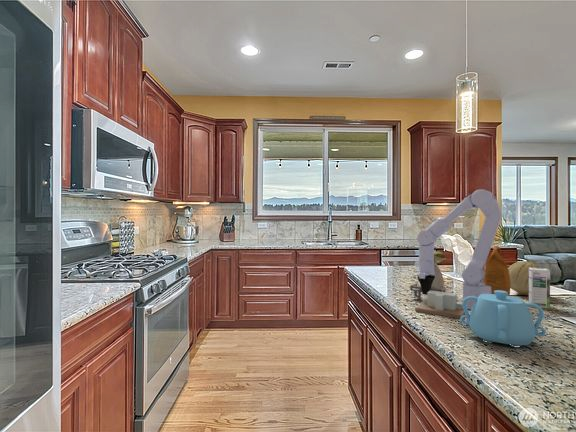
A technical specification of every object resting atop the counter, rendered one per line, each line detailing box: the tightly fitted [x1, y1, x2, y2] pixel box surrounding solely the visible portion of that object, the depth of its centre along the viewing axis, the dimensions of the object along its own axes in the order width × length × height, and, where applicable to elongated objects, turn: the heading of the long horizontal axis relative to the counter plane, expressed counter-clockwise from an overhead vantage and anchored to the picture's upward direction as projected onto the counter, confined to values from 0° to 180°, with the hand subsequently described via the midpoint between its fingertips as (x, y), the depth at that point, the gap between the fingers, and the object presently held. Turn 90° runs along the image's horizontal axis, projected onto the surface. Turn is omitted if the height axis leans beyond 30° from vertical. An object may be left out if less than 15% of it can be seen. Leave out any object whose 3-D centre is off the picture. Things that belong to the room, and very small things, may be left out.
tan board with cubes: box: [414, 290, 465, 319], centre depth 118 cm, size 12×15×6 cm
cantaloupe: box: [508, 260, 542, 296], centre depth 143 cm, size 15×15×15 cm
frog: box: [431, 250, 453, 293], centre depth 148 cm, size 12×13×18 cm
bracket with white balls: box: [409, 282, 446, 300], centre depth 135 cm, size 8×12×5 cm, turn 54°
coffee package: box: [482, 245, 511, 296], centre depth 133 cm, size 10×12×22 cm
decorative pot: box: [459, 290, 547, 347], centre depth 92 cm, size 16×16×14 cm
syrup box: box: [528, 267, 551, 309], centre depth 125 cm, size 6×6×14 cm
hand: (426, 293), depth 133 cm, fingers closed on bracket with white balls, 2 cm apart
